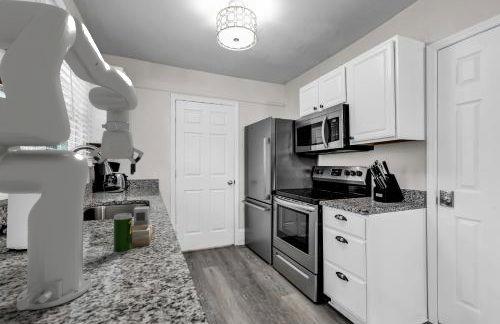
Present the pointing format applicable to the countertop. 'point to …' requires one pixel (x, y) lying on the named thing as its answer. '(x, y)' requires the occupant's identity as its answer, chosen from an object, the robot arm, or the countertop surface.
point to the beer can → (122, 233)
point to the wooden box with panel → (142, 227)
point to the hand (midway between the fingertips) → (117, 174)
